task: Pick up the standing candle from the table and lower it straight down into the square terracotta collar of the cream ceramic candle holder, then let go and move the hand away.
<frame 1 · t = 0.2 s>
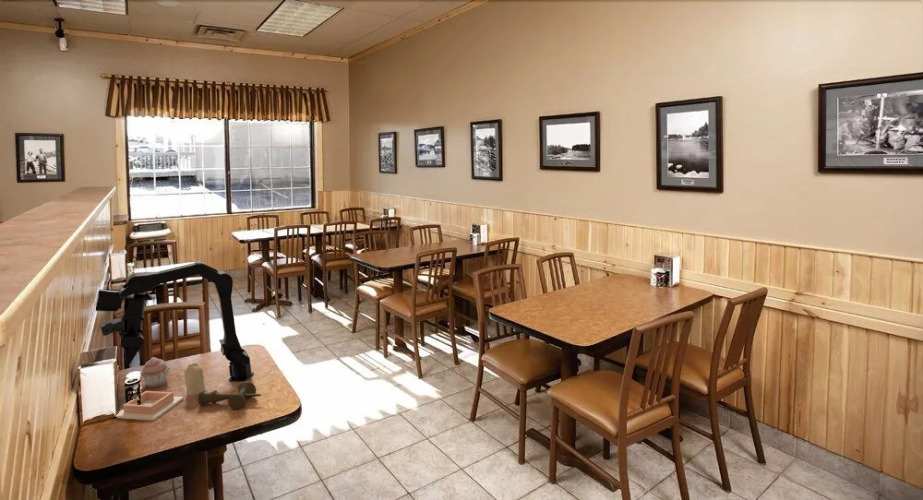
hand: (127, 358, 172), 15 cm above the table, tool pointing down, fingers open, 9 cm apart
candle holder: (149, 408, 171), on the table
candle: (196, 392, 181), on the table
cupcake: (156, 383, 189), on the table
kendama: (231, 404, 173), on the table
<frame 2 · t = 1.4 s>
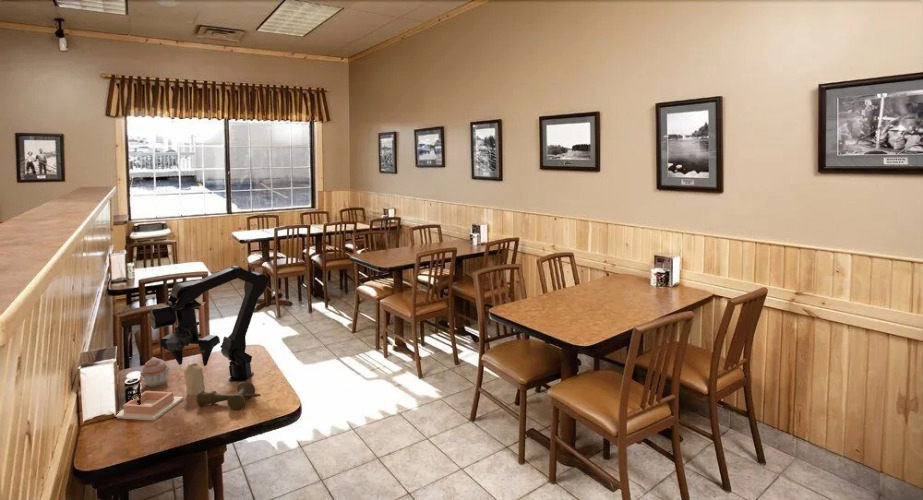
hand: (192, 365, 180), 10 cm above the table, tool pointing down, fingers open, 9 cm apart
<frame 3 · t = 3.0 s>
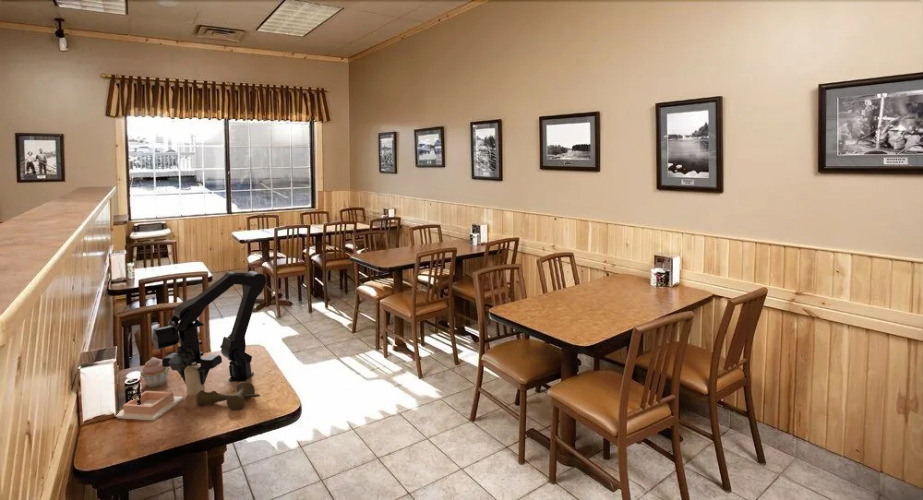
hand: (195, 384, 181), 3 cm above the table, tool pointing down, fingers closed on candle, 5 cm apart
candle: (196, 392, 181), on the table, touching gripper
everything else where it was.
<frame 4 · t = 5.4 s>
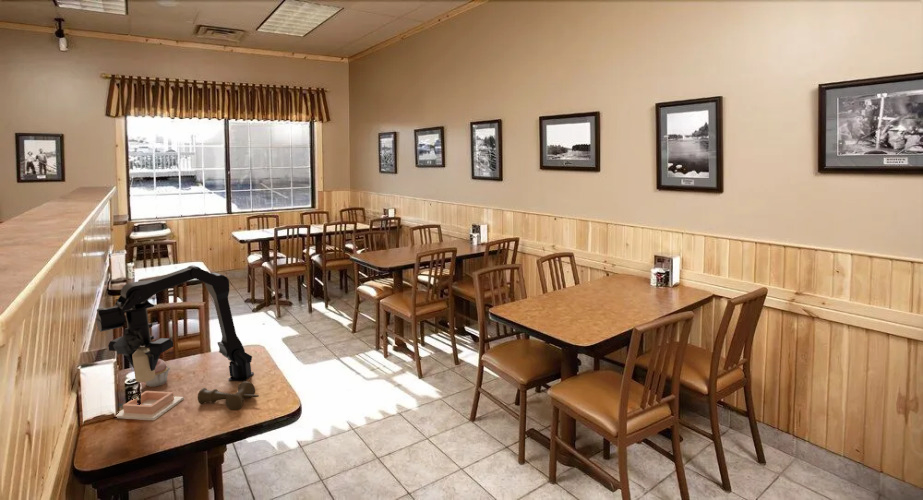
hand: (144, 370, 169), 13 cm above the table, tool pointing down, fingers closed on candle, 5 cm apart
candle: (145, 379, 169), point 10 cm above the table, touching gripper
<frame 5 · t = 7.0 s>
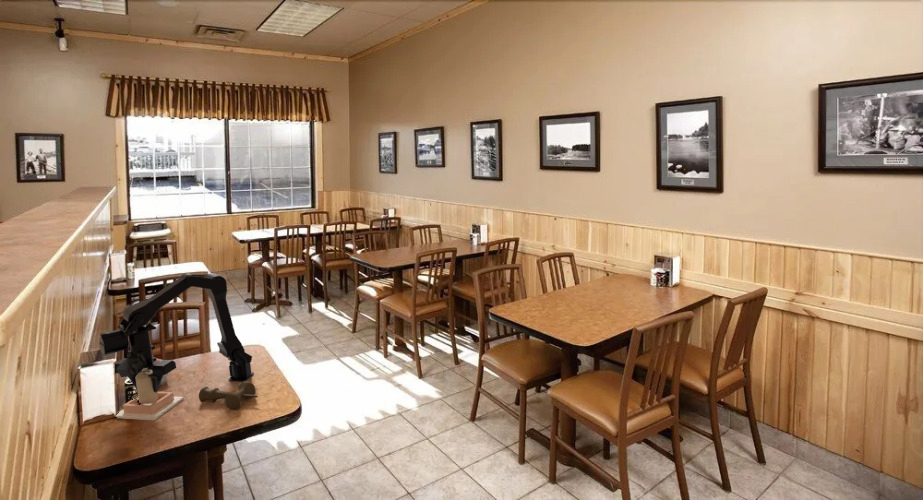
hand: (147, 391, 170), 6 cm above the table, tool pointing down, fingers closed on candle, 5 cm apart
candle: (149, 400, 171), point 3 cm above the table, touching gripper
when the fingers open (5 cm above the table, at t = 8.0 s): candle drops 1 cm, resting on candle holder.
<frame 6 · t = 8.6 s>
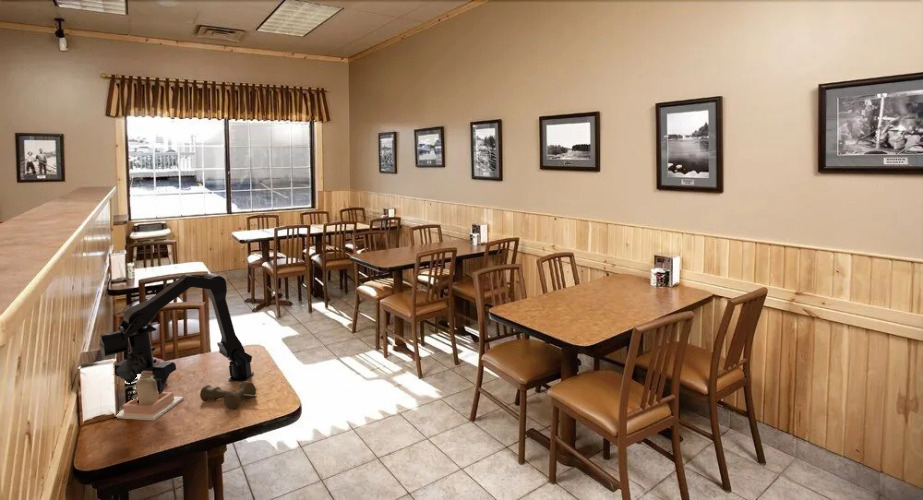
hand: (147, 392, 170), 5 cm above the table, tool pointing down, fingers open, 9 cm apart
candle: (149, 406, 171), point 1 cm above the table, touching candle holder
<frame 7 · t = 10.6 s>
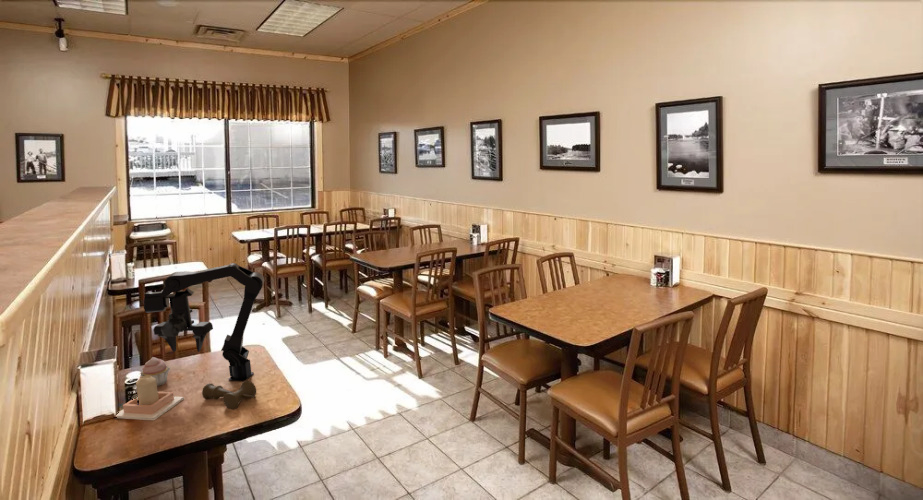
hand: (186, 351, 186), 12 cm above the table, tool pointing down, fingers open, 9 cm apart
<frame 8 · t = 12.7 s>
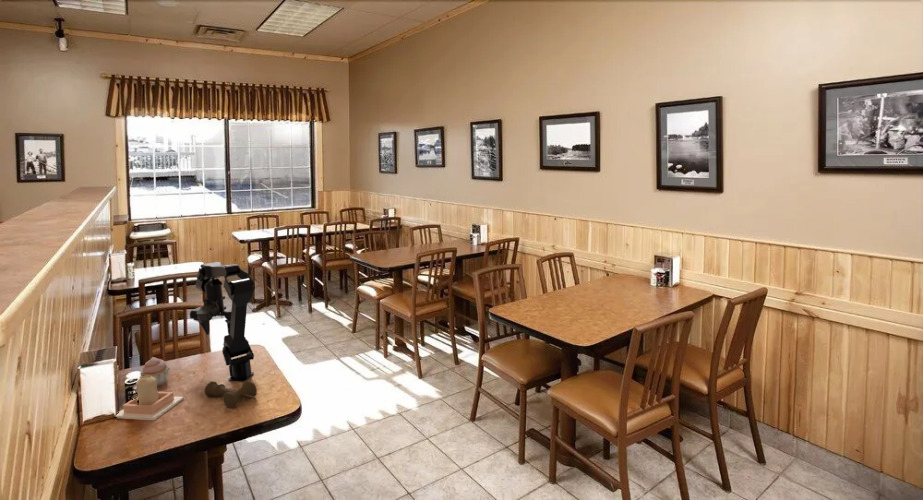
hand: (218, 334, 202), 12 cm above the table, tool pointing down, fingers open, 9 cm apart
at the end: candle 0.1 cm off-centre on the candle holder, point 0.6 cm above the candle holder's base; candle tilted 0°; the gripper is holding nothing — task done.
